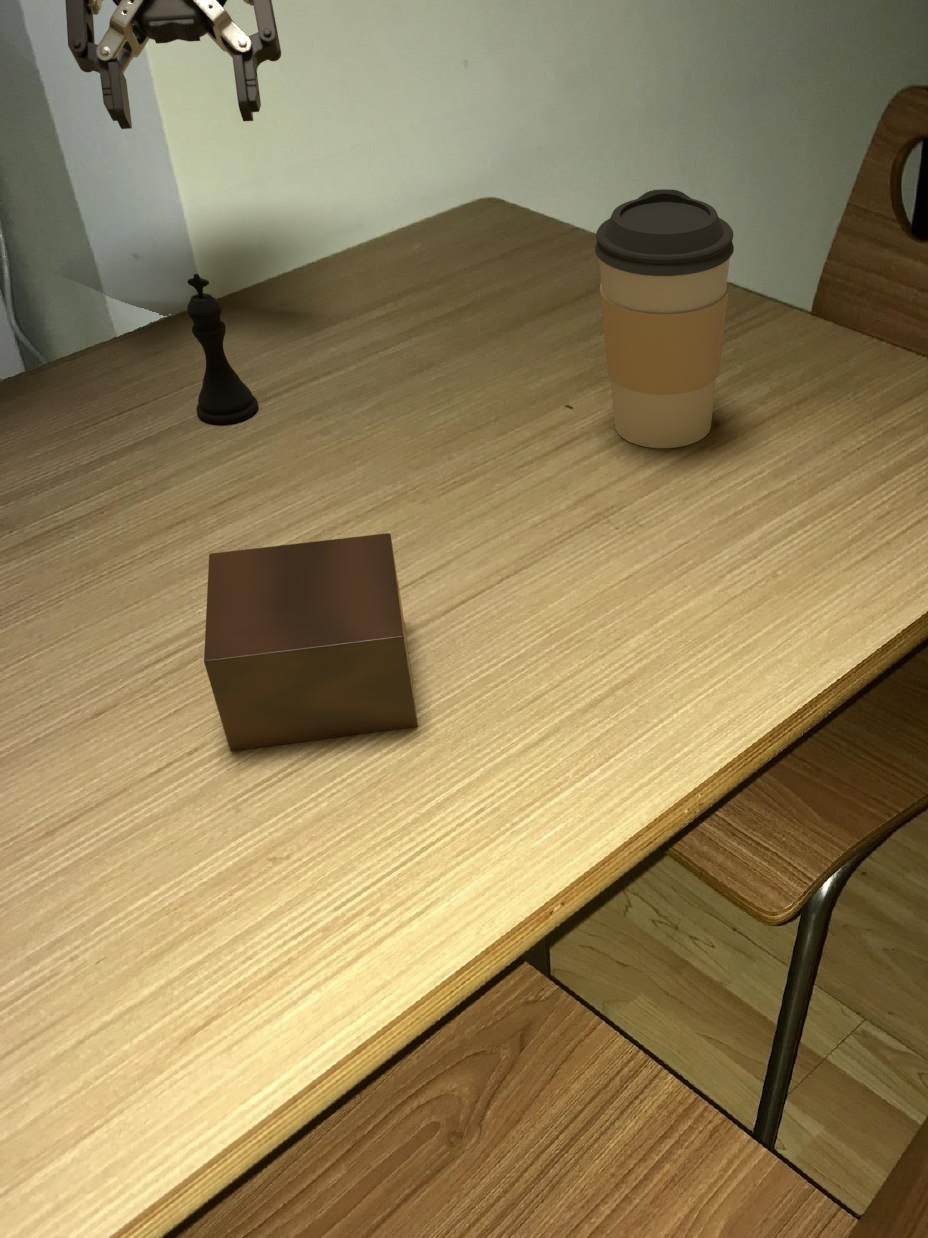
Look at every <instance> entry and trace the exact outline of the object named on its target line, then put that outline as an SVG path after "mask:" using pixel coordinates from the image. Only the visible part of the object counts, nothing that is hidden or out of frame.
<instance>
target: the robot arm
mask: <svg viewBox="0 0 928 1238" xmlns="http://www.w3.org/2000/svg"><path fill="white" fill-rule="evenodd" d="M111 1H112V2H113V4H114V5H115V6H116V8H115V9H114V11H113V13H112V15H111V17H110V18H109V23H108V24H109V25H108V28H107V30H106V31H105V33H104V35H103V36H102V38H101V40H100V41H99V43H98V44H97V43H96V41H95V28H94V27H95V25H94V24H95V23H94V15H95V16H97V15H99V14H100V11H101V9H102V4H103V2H104V0H65V2H64V3H65V17H66V29H67V30H66V34H67V35H66V36H67V45H68V48H69V51H70V52H71V54H72V56H73V58H74V60H75V62H76V64H77V65H78V67H79V69H80V71H82V72H83V73H92V72H95V73H99V75H100V76H99V77H100V85H101V91H102V92H101V94H102V101H103V102H102V103H103V105H104V107H105V109H106V111H107V113H108V115H109V116H110V118H111V120H112V122H117V123H118V125H119V128H120V129H121V130H129V129H132V128H133V123H132V115H131V108H130V99H129V98H130V97H129V92H128V83H127V79H126V75H125V74H124V73H125V72H126V70H127V69H128V67H129V65H130V64H131V63H132V61H133V60H134V58H138V57H139V56H140V55H141V53H142V52H143V50H144V49H145V47H146V45H147V44H148V42H149V41H150V40H153V41H154V42H155V44H168V43H171V42H174V41H178V40H179V41H184V42H189V43H190V42H201V38H203V37H204V36H205V35H208V37H209V38H210V39H211V40H212V41H213V43H215V44H216V45H217V46H218V47H219V48H220V49H221V50H222V51H223V52H224V53H227V54H228V55H229V56H230V57H231V58H232V65H233V73H234V83H235V89H236V97H237V104H238V109H239V113H240V116H241V118H242V122H254V113H259V112H260V110H261V107H262V101H261V95H260V87H259V85H260V84H259V78H258V77H259V76H258V68H259V66H260V65H261V64H262V63H264V62H266V61H270V62H277V61H279V60H280V59H281V57H282V50H281V43H280V39H279V38H280V37H279V33H278V27H277V22H276V18H275V12H274V5H273V0H242V1H243V3H245V4H247V5H249V6H252V7H253V10H254V16H255V20H256V27H257V32H255V33H253V34H251V35H247V34H246V33H245V32H244V30H242V29H241V28H240V27H239V26H238V25H237V23H236V22H235V21H234V20H233V19H232V17H231V15H230V14H229V13H228V11H227V9H226V8H224V7H225V5H226V3H227V2H228V0H111Z"/></svg>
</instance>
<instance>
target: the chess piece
mask: <svg viewBox="0 0 928 1238" xmlns="http://www.w3.org/2000/svg"><path fill="white" fill-rule="evenodd" d="M186 283H187V284H188V285H189V286H191V287H193V288H194V290H195V291H196V293H195V294H194V295H192V296H191V297H190V299H189V301H188V303H187V307H186V312H187V315H188V316H189V318H190V319H191V321H192V323H193V325H192V326H191V333H192V334H193V336H194V337H195V338H196V340H197V341H198V342H199V344H200V345H201V347H202V349H203V352H204V356H205V371H204V375H203V379H202V386H201V389H200V391H199V394H198V398H197V402H198V403H197V404H196V414H197V416H198V418H199V419H200V420H202V421H203V422H206V423H208V424H213V425H229V424H235V423H239V422H243V421H245V420H247V419H249V418H251V417H252V416H254V415H255V414H256V413H257V411H258V409H259V402H258V400H257V397H255V395H253V393H252V391H251V390H250V388H249V387H248V386H247V385H246V384H245V383H244V382H243V381H242V379H241V377H239V375H238V373H237V372H236V370H234V369H233V367H232V366H231V364H230V362H229V361H228V359H227V357H226V354H225V350H224V340H225V335H226V330H227V329H226V328H227V327H226V323H224V322H223V321H222V320H221V315H222V306H221V304H220V302H219V300H218V299H217V298H216V297H214V296H213V295H212V294H211V293H207V292H204V287H207V286H209V285H210V281H209V280H208V279H206V278H203V277H201V275H199V273H194V274H193V276H192V278H189V279H187V281H186Z"/></svg>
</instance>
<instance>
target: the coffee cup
mask: <svg viewBox="0 0 928 1238" xmlns="http://www.w3.org/2000/svg"><path fill="white" fill-rule="evenodd" d="M610 215H611V216H610V217H609V218H608V219H606V220H604V221H603V222H602V223H601V224H600V225H599V227H598V228H597V230H596V232H595V238H596V243H595V246H594V253H595V255H596V257H597V258H598V261H599V270H600V271H599V273H600V281H601V282H600V284H599V295H600V304H601V316H602V323H603V324H602V326H603V335H604V336H603V337H604V347H605V357H606V369H607V374H608V377H609V379H610V387H611V388H610V389H611V400H612V408H613V420H614V429H615V431H616V433H617V435H618V436H619V437H621V439H623V440H625V441H627V442H629V443H631V444H633V445H636V446H640V447H643V448H644V447H645V448H651V449H674V448H682V447H686V446H690V445H692V444H695V443H697V442H699V441H701V440H702V439H704V438H705V437H706V436H707V435H708V434H709V433H710V431H711V429H712V420H713V419H712V418H713V412H714V402H715V394H716V385H717V379H718V376H719V375H720V371H721V370H720V369H721V362H722V354H723V353H722V352H723V344H724V335H725V334H724V333H725V326H726V317H727V310H728V299H729V290H730V285H729V282H728V278H729V277H728V276H729V268H730V258H731V257H732V256H733V255H734V254H733V253H734V250H735V245H734V243H733V240H734V230H733V228H732V226H731V225H730V224H729V223H728V222H727V221H725V220H724V219H723V218H721V217H719V215H718V212H717V210H716V208H715V207H713V206H712V205H710V204H709V203H706V202H704V201H701V200H698V199H695V198H692V197H690V196H689V195H687V194H686V193H684V192H683V191H681V190H677V189H666V188H665V189H663V188H662V189H652V190H649V191H646V192H645V193H643V194H641V195H640V196H639V197H637V198H635V199H631V200H629V201H626V202H624V203H621V204H620V205H618V206H617V207H615V208H614V209H613V211H612V212H611V214H610Z"/></svg>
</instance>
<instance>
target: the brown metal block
mask: <svg viewBox="0 0 928 1238" xmlns="http://www.w3.org/2000/svg"><path fill="white" fill-rule="evenodd" d="M207 569H208V570H207V589H206V592H207V593H206V609H205V611H206V612H205V630H204V631H205V632H204V633H205V634H204V652H203V653H204V655H203V663H204V667H205V670H206V674H207V678H208V680H209V684H210V687H211V690H212V694H213V697H214V701H215V704H216V708H217V711H218V715H219V718H220V721H221V724H222V729H223V731H224V735H225V738H226V742H227V746H228V749H229V751H230V752H234V751H235V752H236V751H241V750H242V751H243V750H249V749H258V748H263V747H264V748H265V747H271V746H279V745H287V744H294V743H302V742H309V741H316V740H323V739H333V738H339V737H340V738H341V737H346V736H355V735H362V734H368V733H369V734H370V733H376V732H377V733H378V732H385V731H392V730H400V729H407V728H413V727H414V728H415V727H418V725H419V722H418V715H417V708H416V707H417V706H416V700H415V693H414V686H413V685H414V684H413V678H412V669H411V663H410V661H411V660H410V655H409V647H408V640H407V632H406V631H407V630H406V624H405V619H404V618H405V617H404V611H403V605H402V604H403V603H402V597H401V592H400V586H399V579H398V573H397V566H396V559H395V553H394V547H393V541H392V534H391V533H390V532H387V533H385V532H384V533H378V534H367V535H360V536H352V537H343V538H333V539H326V540H315V541H308V542H300V543H290V544H282V545H274V546H265V547H264V546H263V547H255V548H248V549H238V550H230V551H229V550H228V551H221V552H212V553H209V554H208V567H207Z"/></svg>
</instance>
